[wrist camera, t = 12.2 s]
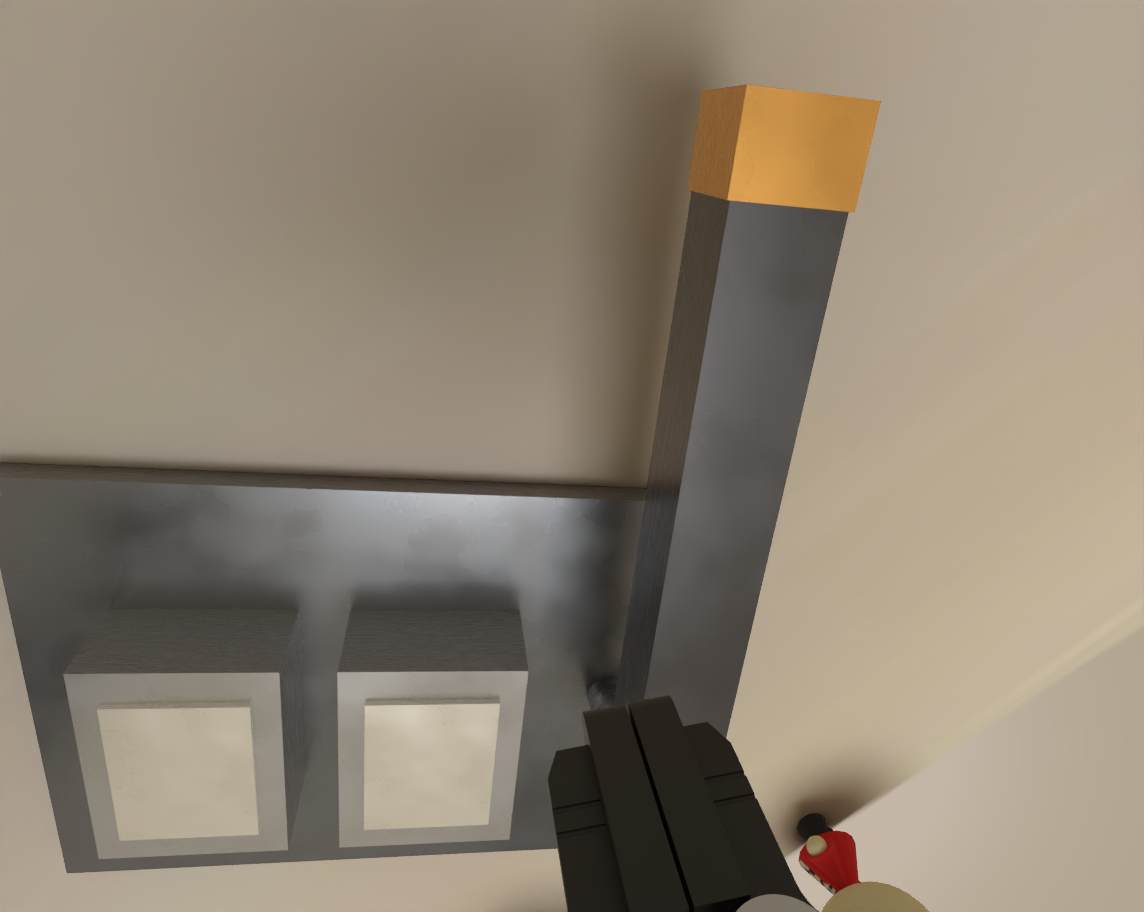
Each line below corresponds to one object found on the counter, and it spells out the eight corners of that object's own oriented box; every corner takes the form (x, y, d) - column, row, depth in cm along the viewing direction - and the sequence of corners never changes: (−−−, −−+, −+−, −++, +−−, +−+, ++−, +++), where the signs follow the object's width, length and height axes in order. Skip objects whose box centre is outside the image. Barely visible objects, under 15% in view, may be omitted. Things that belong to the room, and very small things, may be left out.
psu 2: (136, 781, 32) (95, 866, 28) (109, 608, 29) (59, 680, 25) (304, 775, 33) (286, 856, 30) (299, 610, 30) (277, 678, 26)
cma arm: (679, 88, 19) (727, 80, 16) (838, 107, 20) (914, 103, 16) (575, 837, 29) (591, 926, 26) (681, 831, 30) (709, 916, 27)
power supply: (350, 774, 34) (338, 854, 30) (350, 610, 30) (336, 677, 27) (503, 769, 35) (510, 845, 31) (520, 611, 31) (529, 676, 28)
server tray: (78, 849, 35) (1, 999, 29) (-1, 462, 27) (-130, 557, 21) (597, 826, 39) (623, 951, 33) (657, 488, 31) (705, 573, 25)
